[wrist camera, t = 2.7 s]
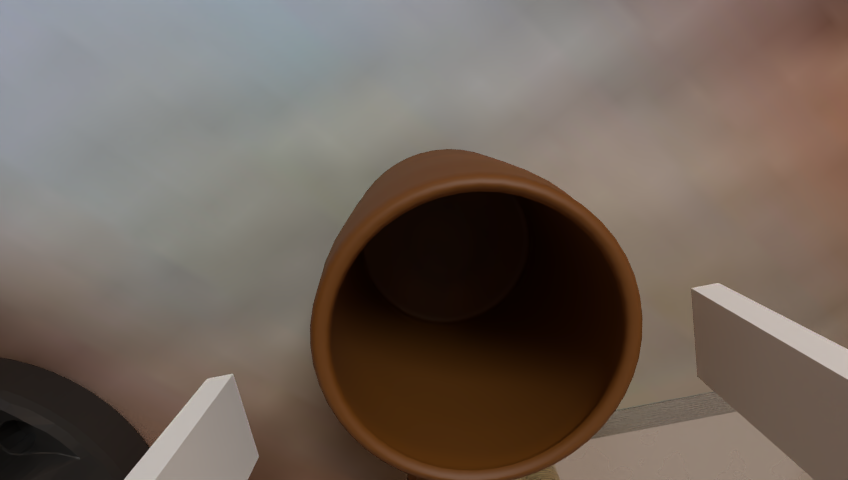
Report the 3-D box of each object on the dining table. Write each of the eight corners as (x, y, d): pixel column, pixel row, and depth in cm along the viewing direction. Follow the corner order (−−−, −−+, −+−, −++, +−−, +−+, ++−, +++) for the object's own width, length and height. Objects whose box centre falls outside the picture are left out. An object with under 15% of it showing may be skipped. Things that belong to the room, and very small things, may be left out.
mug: (507, 428, 22) (579, 649, 13) (336, 414, 21) (282, 632, 12) (553, 158, 19) (689, 189, 10) (359, 135, 19) (313, 146, 9)
